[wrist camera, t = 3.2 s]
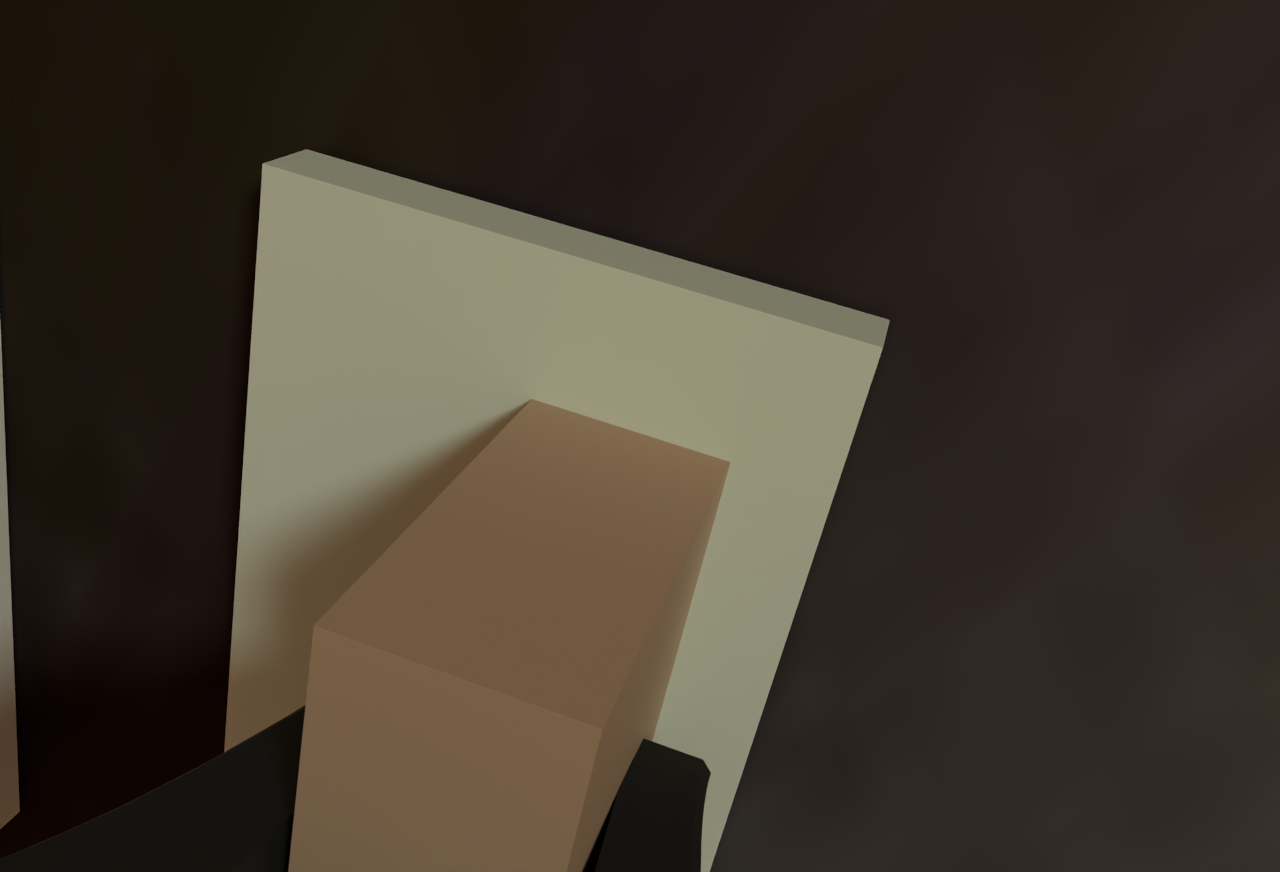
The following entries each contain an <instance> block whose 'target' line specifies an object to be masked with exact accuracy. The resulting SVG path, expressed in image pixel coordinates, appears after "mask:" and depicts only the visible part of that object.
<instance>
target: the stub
mask: <svg viewBox="0 0 1280 872" xmlns="http://www.w3.org/2000/svg"><path fill="white" fill-rule="evenodd" d="M889 321H890V320H888V319H884V318H881V317H878V316H874V315H871V314H867V313H864V312H861V311H857V310H854V309H850V308H847V307H843V306H840V305H837V304H833V303H830V302H826V301H823V300H820V299H816V298H813V297H809V296H806V295H802V294H799V293H796V292H792V291H789V290H785V289H782V288H779V287H775V286H772V285H768V284H765V283H761V282H758V281H755V280H751V279H748V278H744V277H741V276H738V275H734V274H731V273H727V272H724V271H720V270H717V269H714V268H710V267H707V266H703V265H700V264H697V263H693V262H690V261H686V260H683V259H679V258H676V257H673V256H669V255H666V254H662V253H659V252H656V251H652V250H649V249H645V248H642V247H638V246H635V245H632V244H628V243H625V242H621V241H618V240H615V239H611V238H608V237H604V236H601V235H597V234H594V233H591V232H587V231H584V230H580V229H577V228H574V227H570V226H567V225H563V224H560V223H557V222H553V221H550V220H546V219H543V218H539V217H536V216H533V215H529V214H526V213H522V212H519V211H516V210H512V209H509V208H505V207H502V206H498V205H495V204H492V203H488V202H485V201H481V200H478V199H475V198H471V197H468V196H464V195H461V194H457V193H454V192H451V191H447V190H444V189H440V188H437V187H434V186H430V185H427V184H423V183H420V182H416V181H413V180H410V179H406V178H403V177H399V176H396V175H393V174H389V173H386V172H382V171H379V170H375V169H372V168H369V167H365V166H362V165H358V164H355V163H352V162H348V161H345V160H341V159H338V158H334V157H331V156H328V155H324V154H321V153H317V152H314V151H311V150H307V149H306V150H303V151H300V152H297V153H294V154H291V155H288V156H285V157H282V158H279V159H276V160H273V161H269V162H266V163H263V167H262V182H261V198H260V213H259V228H258V243H257V259H256V274H255V289H254V305H253V320H252V335H251V350H250V366H249V381H248V396H247V412H246V427H245V442H244V457H243V473H242V488H241V503H240V519H239V534H238V549H237V565H236V580H235V595H234V610H233V626H232V641H231V656H230V672H229V687H228V702H227V717H226V733H225V748H224V752H226V751H227V750H229V749H231V748H233V747H234V746H236V745H238V744H239V743H241V742H243V741H245V740H246V739H248V738H250V737H252V736H253V735H255V734H257V733H259V732H260V731H262V730H264V729H266V728H267V727H269V726H271V725H273V724H274V723H276V722H278V721H279V720H281V719H283V718H285V717H286V716H288V715H290V714H291V713H293V712H294V711H296V710H298V709H299V708H301V707H303V706H304V705H305V715H304V725H303V734H302V744H301V754H300V763H299V773H298V782H297V792H296V802H295V811H294V821H293V830H292V840H291V850H290V859H289V869H288V872H595V869H596V865H597V862H598V858H599V855H600V851H601V848H602V844H603V841H604V838H605V834H606V831H607V827H608V824H609V820H610V817H611V814H612V810H613V807H614V803H615V800H616V796H617V793H618V789H619V787H620V785H621V783H622V781H623V778H624V776H625V774H626V772H627V770H628V768H629V766H630V764H631V762H632V760H633V758H634V756H635V754H636V752H637V750H638V748H639V746H640V744H641V742H642V740H643V738H644V739H647V740H650V741H653V742H655V743H658V744H661V745H664V746H667V747H669V748H672V749H675V750H678V751H681V752H683V753H686V754H689V755H692V756H695V757H697V758H700V759H703V760H704V762H705V763H706V765H707V767H708V769H709V770H710V772H711V775H710V778H709V782H708V786H707V792H706V798H705V804H704V813H703V824H702V841H701V872H710V868H711V865H712V862H713V859H714V856H715V853H716V850H717V847H718V844H719V841H720V838H721V835H722V832H723V829H724V826H725V823H726V820H727V817H728V814H729V811H730V808H731V805H732V802H733V799H734V796H735V793H736V790H737V787H738V784H739V781H740V778H741V775H742V772H743V769H744V766H745V763H746V760H747V757H748V754H749V751H750V748H751V745H752V742H753V739H754V736H755V733H756V730H757V726H758V723H759V720H760V717H761V714H762V711H763V708H764V705H765V702H766V699H767V696H768V693H769V690H770V687H771V684H772V681H773V678H774V675H775V672H776V669H777V666H778V663H779V660H780V657H781V654H782V651H783V648H784V645H785V642H786V639H787V636H788V633H789V630H790V627H791V624H792V621H793V618H794V615H795V612H796V609H797V606H798V603H799V600H800V597H801V594H802V591H803V588H804V585H805V581H806V578H807V575H808V572H809V569H810V566H811V563H812V560H813V557H814V554H815V551H816V548H817V545H818V542H819V539H820V536H821V533H822V530H823V527H824V524H825V521H826V518H827V515H828V512H829V509H830V506H831V503H832V500H833V497H834V494H835V491H836V488H837V485H838V482H839V479H840V476H841V473H842V470H843V467H844V464H845V461H846V458H847V455H848V452H849V449H850V446H851V443H852V439H853V436H854V433H855V430H856V427H857V424H858V421H859V418H860V415H861V412H862V409H863V406H864V403H865V400H866V397H867V394H868V391H869V388H870V385H871V382H872V379H873V376H874V373H875V370H876V367H877V364H878V361H879V358H880V355H881V352H882V349H883V345H884V341H885V337H886V333H887V329H888V325H889Z"/></svg>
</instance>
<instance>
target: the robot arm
mask: <svg viewBox="0 0 1280 872" xmlns="http://www.w3.org/2000/svg"><path fill="white" fill-rule="evenodd" d="M304 715H305V705H304V706H303V707H301V708H299V709H298V710H296V711H294V712H293V713H291V714H290V715H288V716H286V717H285V718H283V719H281V720H279V721H278V722H276V723H274V724H273V725H271V726H269V727H267V728H266V729H264V730H262V731H260V732H259V733H257V734H255V735H253V736H252V737H250V738H248V739H246V740H245V741H243V742H241V743H239V744H238V745H236V746H234V747H233V748H231V749H229V750H227V751H226V752H224V753H222V754H220V755H218V756H217V757H215V758H213V759H211V760H209V761H208V762H206V763H204V764H202V765H200V766H198V767H196V768H194V769H192V770H190V771H188V772H186V773H184V774H183V775H181V776H179V777H177V778H175V779H173V780H171V781H169V782H167V783H165V784H163V785H161V786H159V787H157V788H155V789H153V790H151V791H149V792H148V793H146V794H144V795H142V796H140V797H138V798H136V799H134V800H132V801H130V802H128V803H126V804H124V805H122V806H120V807H118V808H115V809H113V810H111V811H109V812H107V813H105V814H103V815H101V816H98V817H96V818H94V819H92V820H90V821H88V822H85V823H83V824H81V825H79V826H77V827H74V828H72V829H70V830H68V831H65V832H63V833H61V834H58V835H56V836H54V837H51V838H49V839H47V840H44V841H42V842H39V843H37V844H35V845H32V846H30V847H28V848H25V849H23V850H21V851H18V852H16V853H13V854H11V855H8V856H6V857H3V858H1V859H0V872H288V869H289V859H290V850H291V840H292V830H293V821H294V811H295V802H296V792H297V782H298V773H299V763H300V754H301V744H302V734H303V725H304ZM710 775H711V772H710V770H709V769H708V767H707V765H706V763H705V762H704V760H703V759H700V758H697V757H695V756H692V755H689V754H686V753H683V752H681V751H678V750H675V749H672V748H669V747H667V746H664V745H661V744H658V743H655V742H653V741H650V740H647V739H644V738H643V740H642V742H641V744H640V746H639V748H638V750H637V752H636V754H635V756H634V758H633V760H632V762H631V764H630V766H629V768H628V770H627V772H626V774H625V776H624V778H623V781H622V783H621V785H620V787H619V789H618V793H617V796H616V800H615V803H614V807H613V810H612V814H611V817H610V820H609V824H608V827H607V831H606V834H605V838H604V841H603V844H602V848H601V851H600V855H599V858H598V862H597V865H596V869H595V872H701V841H702V824H703V813H704V804H705V798H706V792H707V786H708V782H709V778H710Z"/></svg>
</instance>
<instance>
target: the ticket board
mask: <svg viewBox="0 0 1280 872" xmlns="http://www.w3.org/2000/svg"><path fill="white" fill-rule="evenodd" d="M19 812H20V805H19V779H18V754H17V728H16V703H15V678H14V652H13V627H12V601H11V576H10V550H9V525H8V499H7V474H6V448H5V423H4V397H3V372H2V347H1V321H0V829H1V828H2V827H3V826H4V825H5V824H7V823H8V822H9V821H10V820H11V819H12V818H13V817H14V816H15V815H16V814H18V813H19Z"/></svg>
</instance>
